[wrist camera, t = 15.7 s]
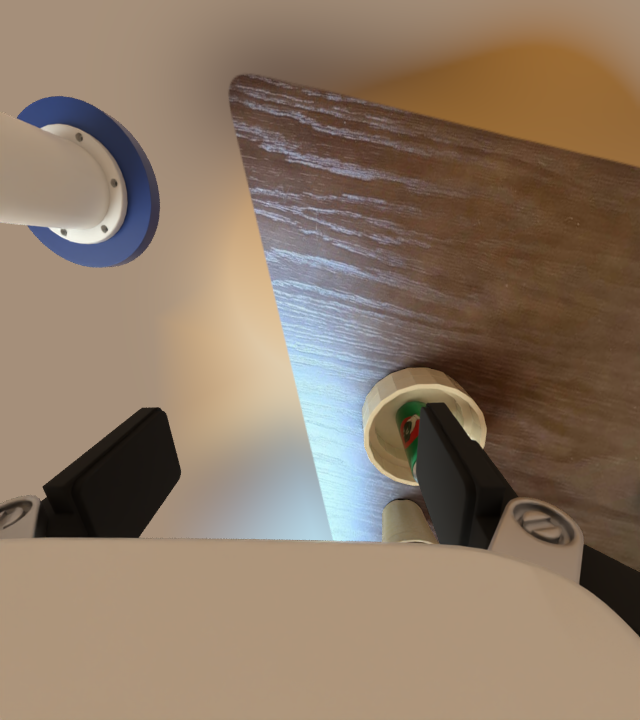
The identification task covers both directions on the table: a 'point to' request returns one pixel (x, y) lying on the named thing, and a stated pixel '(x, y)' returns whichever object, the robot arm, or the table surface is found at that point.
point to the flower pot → (405, 523)
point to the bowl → (398, 391)
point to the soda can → (410, 430)
